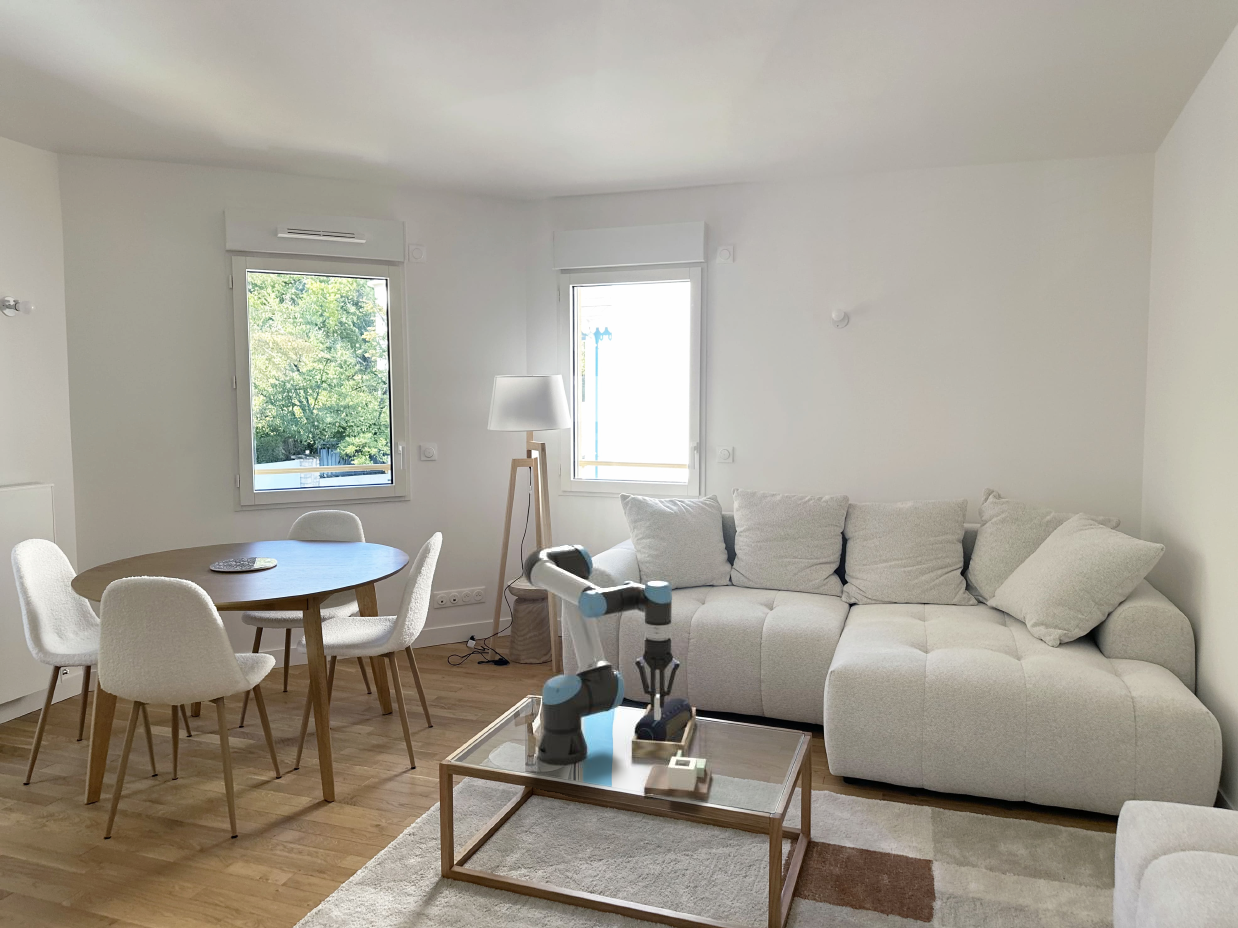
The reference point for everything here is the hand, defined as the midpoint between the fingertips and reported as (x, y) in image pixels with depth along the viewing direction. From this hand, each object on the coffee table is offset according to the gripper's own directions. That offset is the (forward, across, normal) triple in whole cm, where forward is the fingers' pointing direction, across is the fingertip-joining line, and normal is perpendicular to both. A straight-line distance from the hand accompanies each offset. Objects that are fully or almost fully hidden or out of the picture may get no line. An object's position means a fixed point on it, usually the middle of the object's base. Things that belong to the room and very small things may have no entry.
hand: (657, 717), depth 239 cm
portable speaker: (+18, -2, +28) cm, 34 cm away
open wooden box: (+18, -2, +28) cm, 34 cm away
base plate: (+18, +6, -3) cm, 19 cm away
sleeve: (+16, +8, -7) cm, 19 cm away
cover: (+15, +10, +1) cm, 18 cm away
